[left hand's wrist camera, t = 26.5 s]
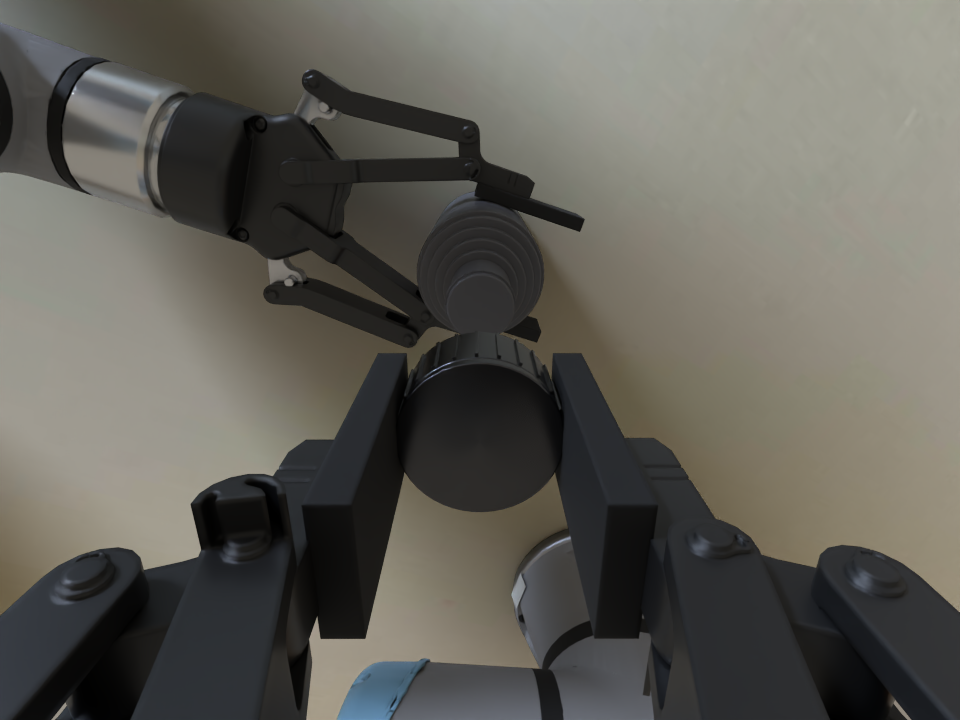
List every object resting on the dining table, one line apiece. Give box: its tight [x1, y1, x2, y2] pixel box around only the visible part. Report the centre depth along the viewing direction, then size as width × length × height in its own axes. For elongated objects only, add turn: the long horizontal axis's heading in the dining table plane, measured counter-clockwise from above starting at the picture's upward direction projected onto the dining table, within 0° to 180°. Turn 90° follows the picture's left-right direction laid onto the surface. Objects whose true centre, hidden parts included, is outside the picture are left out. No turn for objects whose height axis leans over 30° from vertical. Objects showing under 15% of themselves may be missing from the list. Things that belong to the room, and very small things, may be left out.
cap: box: [396, 331, 564, 512], centre depth 13 cm, size 4×4×2 cm
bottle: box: [417, 192, 544, 334], centre depth 30 cm, size 6×6×18 cm
